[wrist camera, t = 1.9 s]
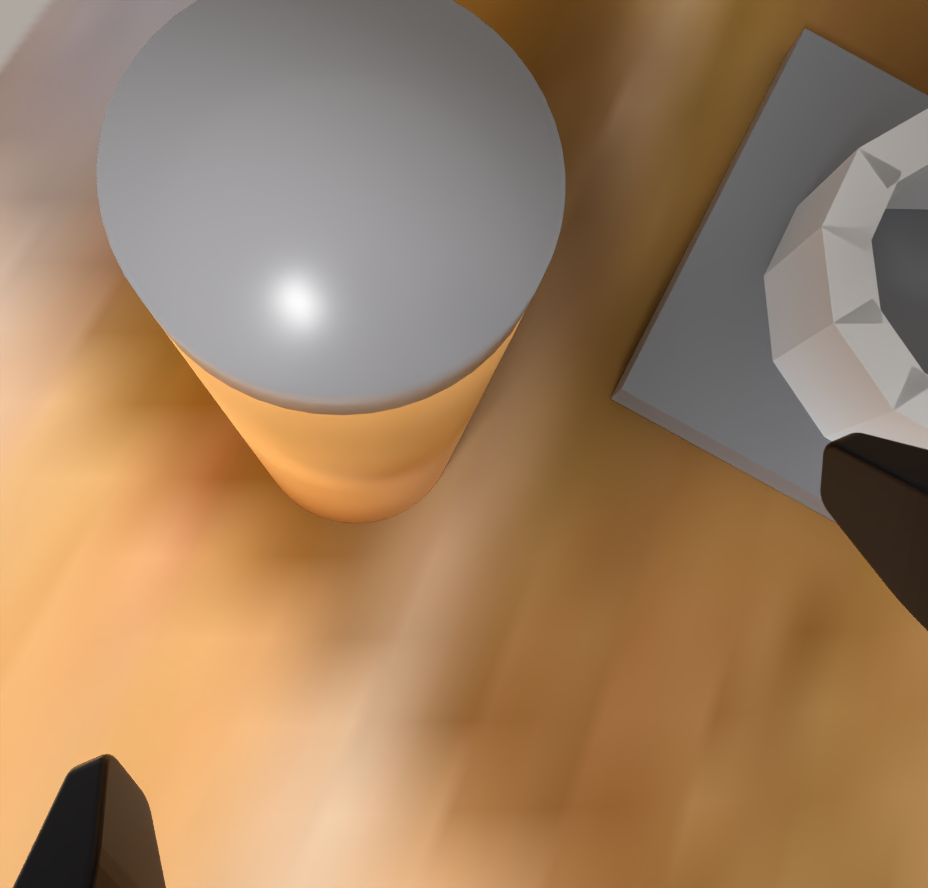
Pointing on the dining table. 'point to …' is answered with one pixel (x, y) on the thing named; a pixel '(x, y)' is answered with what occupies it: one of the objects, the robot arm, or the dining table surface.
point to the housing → (802, 282)
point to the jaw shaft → (335, 227)
